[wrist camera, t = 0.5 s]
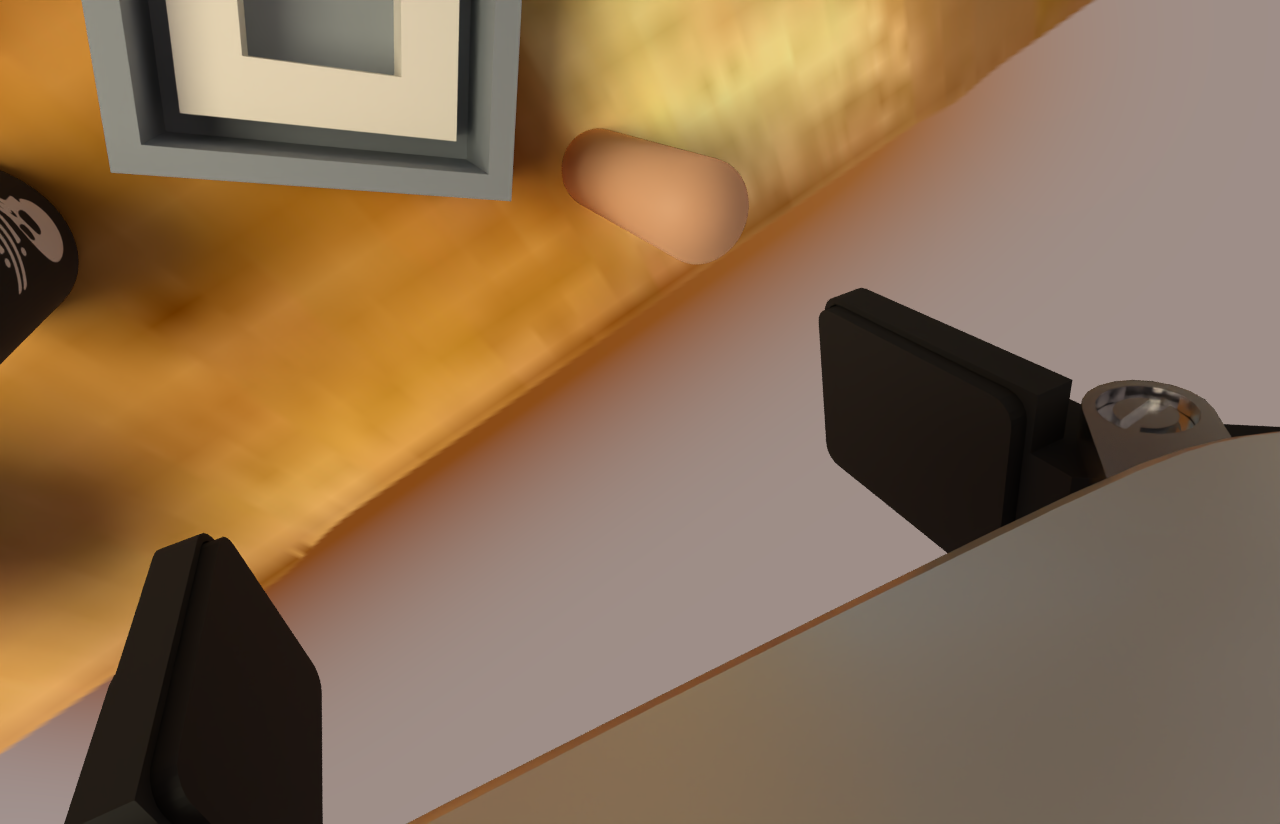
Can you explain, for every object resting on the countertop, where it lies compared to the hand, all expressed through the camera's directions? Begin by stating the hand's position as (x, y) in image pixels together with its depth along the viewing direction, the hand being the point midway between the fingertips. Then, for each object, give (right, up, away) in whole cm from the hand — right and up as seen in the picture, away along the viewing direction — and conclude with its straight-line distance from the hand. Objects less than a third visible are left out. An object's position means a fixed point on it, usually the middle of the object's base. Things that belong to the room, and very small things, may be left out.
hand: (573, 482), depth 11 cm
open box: (-12, +19, +18) cm, 29 cm away
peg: (-1, +14, +26) cm, 29 cm away
